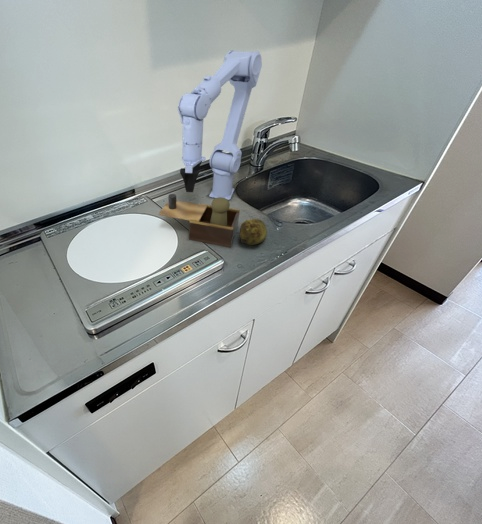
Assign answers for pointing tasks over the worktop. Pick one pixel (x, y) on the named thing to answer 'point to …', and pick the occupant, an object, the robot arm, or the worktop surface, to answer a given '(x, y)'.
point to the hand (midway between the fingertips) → (191, 186)
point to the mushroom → (219, 211)
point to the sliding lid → (182, 209)
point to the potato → (253, 231)
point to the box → (214, 228)
